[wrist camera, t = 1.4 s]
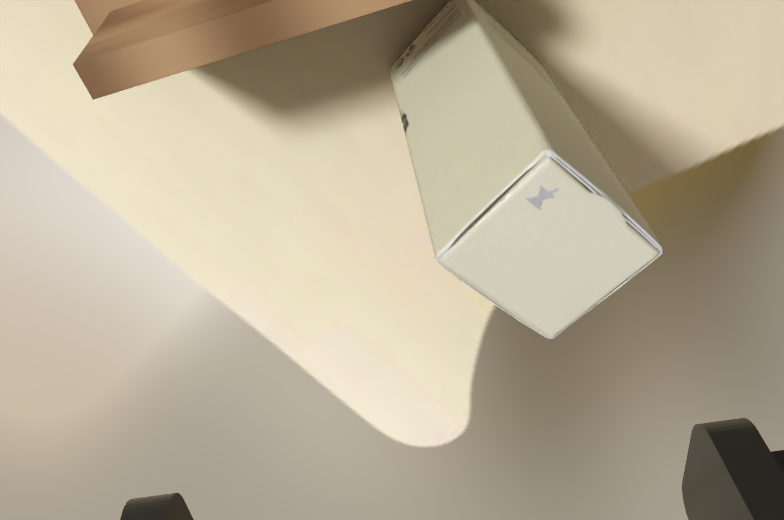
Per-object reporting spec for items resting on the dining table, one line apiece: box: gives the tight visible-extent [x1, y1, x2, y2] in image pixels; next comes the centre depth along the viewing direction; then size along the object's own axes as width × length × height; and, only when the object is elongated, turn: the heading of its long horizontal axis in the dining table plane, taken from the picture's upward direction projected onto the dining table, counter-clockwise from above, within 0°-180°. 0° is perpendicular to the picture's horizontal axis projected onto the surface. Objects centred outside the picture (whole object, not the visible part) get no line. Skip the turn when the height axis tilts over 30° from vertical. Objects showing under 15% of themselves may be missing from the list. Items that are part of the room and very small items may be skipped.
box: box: [390, 0, 663, 339], centre depth 25 cm, size 5×4×13 cm
